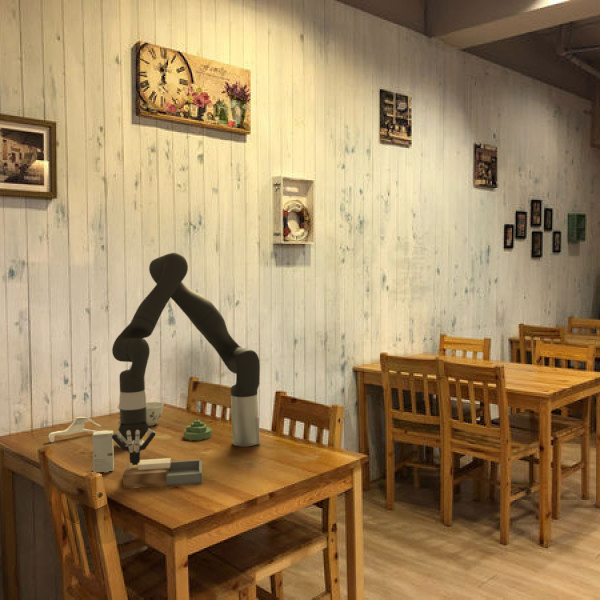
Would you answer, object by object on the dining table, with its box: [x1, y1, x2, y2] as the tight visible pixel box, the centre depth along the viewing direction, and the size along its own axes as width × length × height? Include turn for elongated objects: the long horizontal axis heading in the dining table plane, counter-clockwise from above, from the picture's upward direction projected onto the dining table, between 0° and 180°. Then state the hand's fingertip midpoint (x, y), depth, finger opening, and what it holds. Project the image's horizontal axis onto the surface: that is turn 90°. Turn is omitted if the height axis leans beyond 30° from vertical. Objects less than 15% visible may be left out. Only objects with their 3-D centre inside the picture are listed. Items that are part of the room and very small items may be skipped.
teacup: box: [146, 401, 164, 427], centre depth 252 cm, size 15×12×8 cm
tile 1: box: [138, 458, 156, 470], centre depth 187 cm, size 4×4×2 cm
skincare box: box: [91, 429, 115, 473], centre depth 197 cm, size 6×4×12 cm
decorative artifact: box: [183, 417, 213, 441], centre depth 232 cm, size 10×7×10 cm
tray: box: [166, 459, 203, 487], centre depth 189 cm, size 10×13×3 cm
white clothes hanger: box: [48, 416, 103, 443], centre depth 236 cm, size 2×11×18 cm
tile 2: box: [154, 457, 172, 469], centre depth 188 cm, size 4×4×2 cm
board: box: [122, 461, 169, 489], centre depth 187 cm, size 12×12×4 cm
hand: (135, 464), depth 187 cm, fingers closed
